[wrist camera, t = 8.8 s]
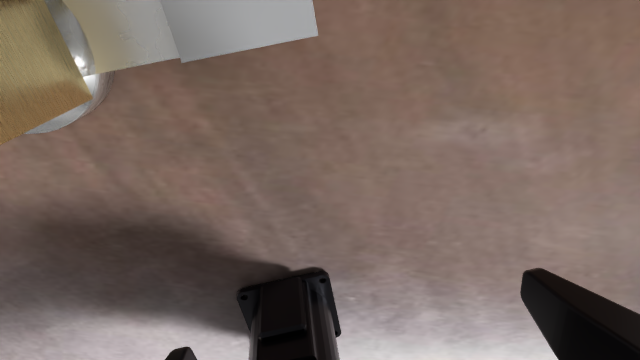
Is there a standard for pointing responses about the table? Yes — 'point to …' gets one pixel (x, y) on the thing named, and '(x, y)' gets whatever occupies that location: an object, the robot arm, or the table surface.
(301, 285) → the robot arm
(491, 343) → the table surface
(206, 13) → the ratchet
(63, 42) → the wooden toy block
